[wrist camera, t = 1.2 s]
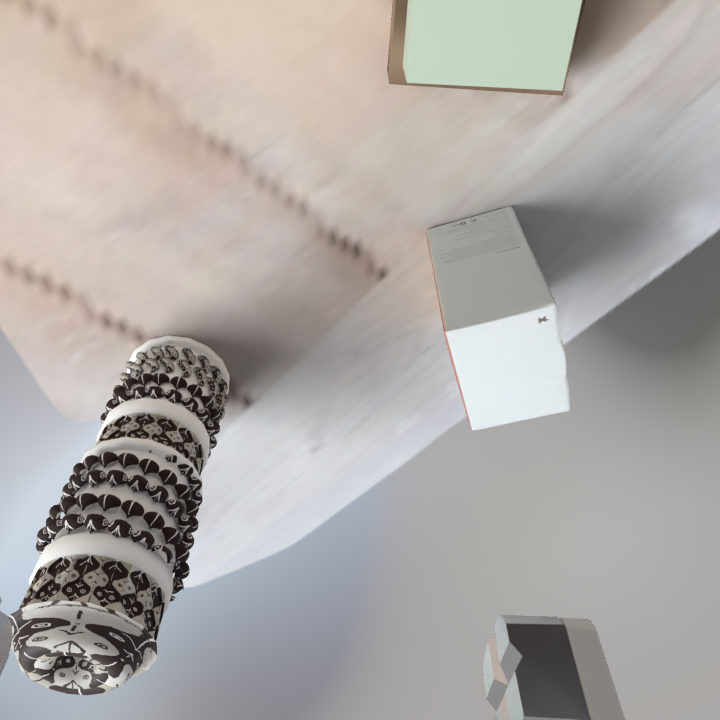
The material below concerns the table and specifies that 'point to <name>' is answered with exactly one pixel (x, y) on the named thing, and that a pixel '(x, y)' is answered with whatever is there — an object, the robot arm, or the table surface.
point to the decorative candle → (123, 524)
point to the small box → (498, 320)
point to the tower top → (490, 42)
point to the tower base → (398, 77)
